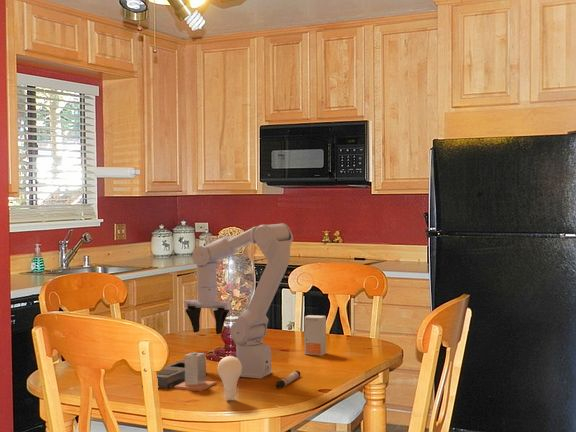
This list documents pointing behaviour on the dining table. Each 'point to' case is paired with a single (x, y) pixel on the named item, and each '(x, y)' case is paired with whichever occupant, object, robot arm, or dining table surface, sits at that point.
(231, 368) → the lightbulb
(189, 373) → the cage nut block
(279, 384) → the marker
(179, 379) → the grey slotted tray
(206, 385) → the mat
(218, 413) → the dining table surface
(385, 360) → the dining table surface
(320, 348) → the skincare box
